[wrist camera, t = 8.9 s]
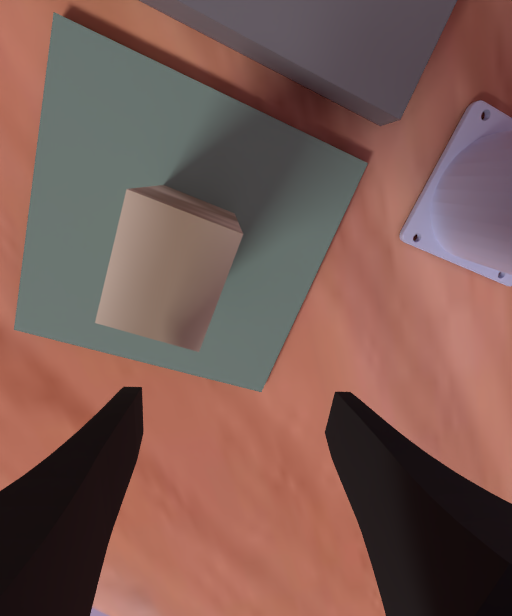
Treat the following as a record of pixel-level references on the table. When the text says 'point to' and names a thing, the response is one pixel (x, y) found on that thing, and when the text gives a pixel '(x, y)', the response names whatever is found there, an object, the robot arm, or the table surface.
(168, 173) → the rubber mat
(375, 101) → the pocket plate
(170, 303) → the birch block
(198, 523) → the table surface
